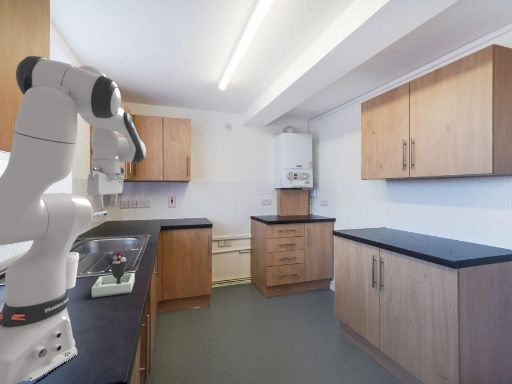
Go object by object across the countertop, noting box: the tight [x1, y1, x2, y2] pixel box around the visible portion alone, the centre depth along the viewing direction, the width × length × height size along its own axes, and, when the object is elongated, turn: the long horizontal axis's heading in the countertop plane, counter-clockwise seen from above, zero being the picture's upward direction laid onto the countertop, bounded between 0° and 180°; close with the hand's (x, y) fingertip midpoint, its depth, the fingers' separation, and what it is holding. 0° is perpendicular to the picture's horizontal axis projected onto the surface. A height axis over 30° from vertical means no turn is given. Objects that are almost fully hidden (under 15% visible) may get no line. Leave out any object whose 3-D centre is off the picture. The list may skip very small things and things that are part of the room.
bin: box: [91, 272, 136, 299], centre depth 104 cm, size 13×13×4 cm
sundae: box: [107, 248, 128, 284], centre depth 104 cm, size 7×7×15 cm
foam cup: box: [66, 251, 80, 291], centre depth 106 cm, size 10×9×13 cm
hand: (107, 207), depth 95 cm, fingers open, 8 cm apart
